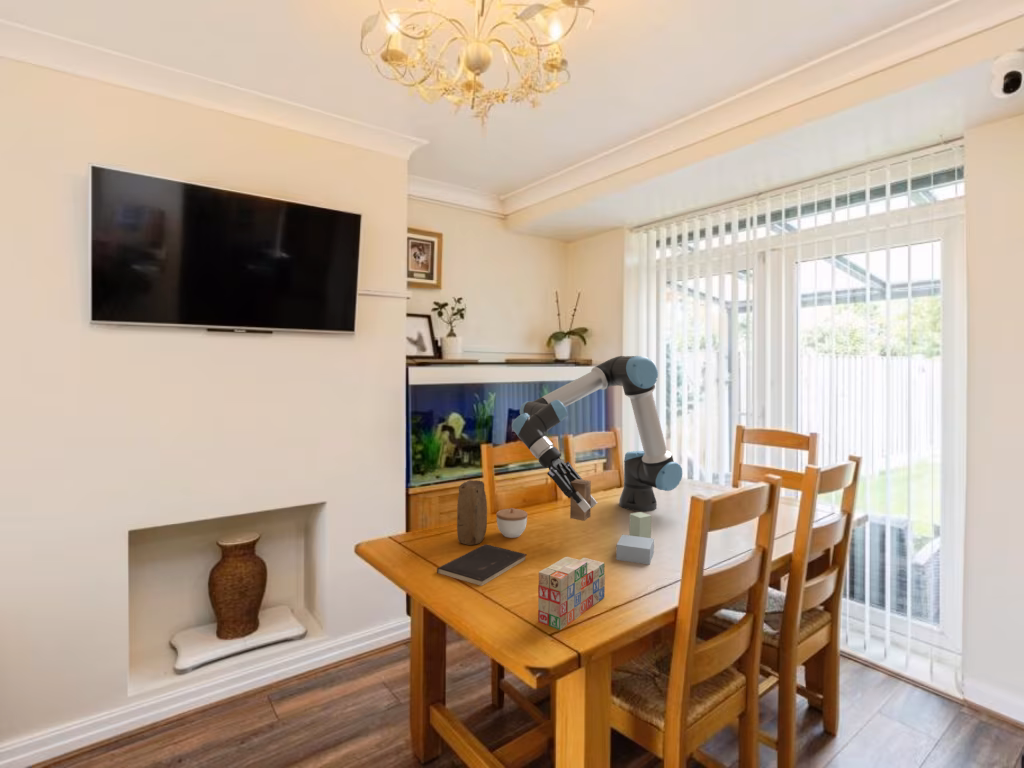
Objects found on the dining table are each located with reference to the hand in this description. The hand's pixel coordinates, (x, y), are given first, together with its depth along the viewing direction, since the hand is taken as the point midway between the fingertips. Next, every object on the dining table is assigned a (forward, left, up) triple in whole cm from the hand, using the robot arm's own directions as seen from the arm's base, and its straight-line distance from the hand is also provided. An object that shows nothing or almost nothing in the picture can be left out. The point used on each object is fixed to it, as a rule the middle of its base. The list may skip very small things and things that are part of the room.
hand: (591, 507), depth 173 cm
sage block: (-19, -3, -13) cm, 23 cm away
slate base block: (-12, +10, -13) cm, 20 cm away
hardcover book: (+36, +11, -14) cm, 40 cm away
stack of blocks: (+17, +40, -14) cm, 46 cm away
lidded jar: (+23, -15, -13) cm, 31 cm away
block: (+37, -11, -13) cm, 41 cm away
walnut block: (+3, -2, -4) cm, 5 cm away
